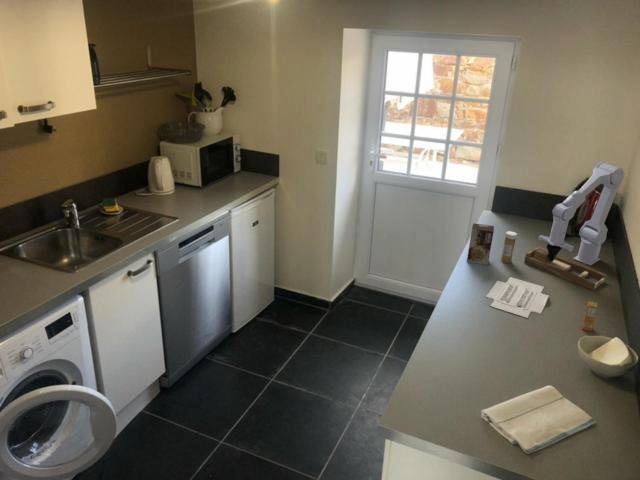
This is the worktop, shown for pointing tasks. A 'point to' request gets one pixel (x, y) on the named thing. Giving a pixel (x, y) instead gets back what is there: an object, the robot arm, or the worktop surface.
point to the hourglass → (589, 316)
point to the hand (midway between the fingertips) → (551, 260)
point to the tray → (518, 297)
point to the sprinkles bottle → (508, 246)
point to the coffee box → (480, 243)
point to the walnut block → (542, 255)
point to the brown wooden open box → (567, 270)
